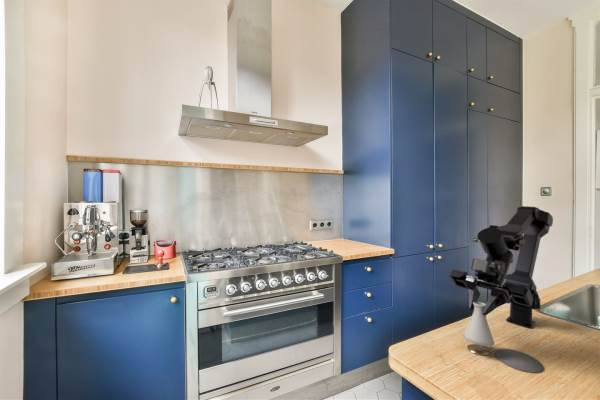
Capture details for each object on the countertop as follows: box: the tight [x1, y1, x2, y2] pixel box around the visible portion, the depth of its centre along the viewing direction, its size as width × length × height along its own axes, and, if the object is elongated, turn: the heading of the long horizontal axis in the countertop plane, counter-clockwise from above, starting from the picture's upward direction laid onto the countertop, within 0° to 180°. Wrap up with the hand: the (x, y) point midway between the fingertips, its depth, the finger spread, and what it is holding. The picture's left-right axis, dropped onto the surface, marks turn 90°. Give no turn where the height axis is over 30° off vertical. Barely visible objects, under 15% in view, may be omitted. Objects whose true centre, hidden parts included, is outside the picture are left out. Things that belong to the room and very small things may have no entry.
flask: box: [462, 301, 495, 348], centre depth 73 cm, size 7×7×10 cm
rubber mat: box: [494, 348, 544, 374], centre depth 69 cm, size 10×10×1 cm
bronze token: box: [466, 343, 490, 357], centre depth 73 cm, size 5×5×1 cm
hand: (476, 312), depth 72 cm, fingers closed on flask, 3 cm apart
